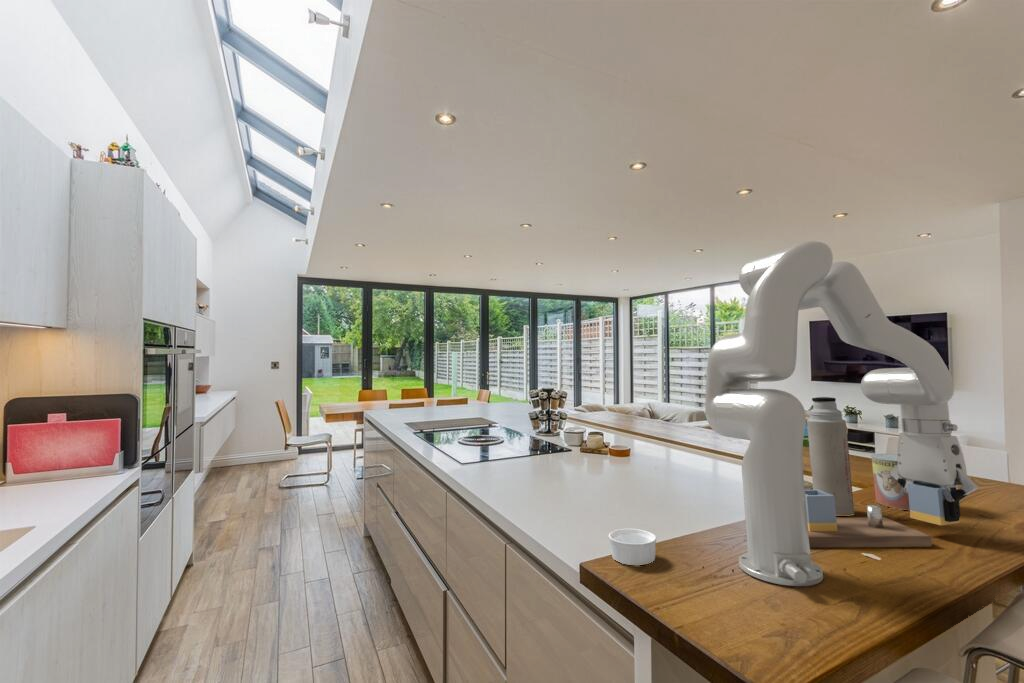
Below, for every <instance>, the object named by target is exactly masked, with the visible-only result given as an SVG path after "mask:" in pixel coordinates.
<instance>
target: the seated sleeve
mask: <svg viewBox="0 0 1024 683" xmlns="http://www.w3.org/2000/svg"><path fill="white" fill-rule="evenodd" d="M805 498H806V510H807V522H808V531H837V521H836V518H837V517H836V510H835V499H834V496H833V495H831V494H828V493H826V492H823V491H821V490H818V489H814V490H813V489H805Z"/></svg>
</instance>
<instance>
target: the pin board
mask: <svg viewBox="0 0 1024 683" xmlns="http://www.w3.org/2000/svg"><path fill="white" fill-rule="evenodd" d="M882 512H883V511H882V506H880V505H875V504H867V505H866V515H867V517H865V516H864V517H861V516H860V517H836V521H837V531H808V533H809V545H810V548H932V547H933V544H932V536H931V535H929V534H926V533H924V532H921V531H919V530H916V529H915V528H913V527H912V528H911V527H909V526H907V525H905V524H902V523H900V522H897V521H895V520H893V519H889V518H887V517H884V516H883V513H882Z"/></svg>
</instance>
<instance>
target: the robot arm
mask: <svg viewBox="0 0 1024 683" xmlns="http://www.w3.org/2000/svg"><path fill="white" fill-rule="evenodd" d="M833 259H834V256H833V251H832V249H831V248H830V247H829V245H828V244H826V243H824V242H822V241H815V240H814V241H813V240H812V241H806V242H801V243H798V244H795V245H792V246H789V247H786V248H782V249H780V250H777V251H774V252H772V253H768V254H765V255H761V256H758V257H756V258H753V259H751V260H749V261H747V262H746V263H745V264H744V265H743V266H742V268H741V269H740V271H739V275H738V282H739V285H740V287H741V289H742V291H743V292H744V293H745V294H746V295H747V296H748V299H747V302H746V305H745V307H746V308H745V316H744V325H743V330H742V332H741V333H735V334H728V335H725V336H722V337H721V338H719V339H718V340H716V341H715V342H714V343H713V345H712V347H711V349H710V350H709V353H708V356H707V364H706V365H707V366H706V381H705V382H706V384H705V401H704V402H705V403H704V404H705V407H704V408H705V416H706V419H707V424H708V425H709V427H710V429H712V430H713V432H715V433H716V434H718V435H720V436H722V437H726V438H731V439H738V440H746V441H749V444H748V446H747V448H746V451H745V453H744V455H743V458H742V461H741V478H742V489H743V490H742V491H743V503H744V504H743V505H744V516H745V517H744V518H745V530H746V532H745V533H746V543H747V552H744V553H742V554H741V555H740V556H739V557H738V565H739V568H741V570H742V571H743V572H745V573H746V574H748V575H749V576H750V577H754V578H755V579H758V580H762V581H763V582H767V583H771V584H775V585H776V584H777V585H781V586H788V587H809V586H814V585H817V584H819V583H821V582H822V581H823V579H824V573H823V569H822V568H821V566H819V565H818V564H817V563H815V562H813V561H812V559H811V547H810V545H809V533H808V522H807V510H806V498H805V490H806V488H805V478H804V464H803V463H804V462H803V449H804V448H803V447H804V446H803V445H804V438H805V437H804V436H805V430H806V424H807V423H806V422H807V420H806V417H807V416H806V410H805V408H804V406H803V405H804V404H802V402H801V401H800V400H799V398H797V397H796V395H794V394H792V393H789V392H787V391H785V390H780V389H774V388H748V386H749V383H762V382H765V383H767V382H768V383H770V382H780V381H784V380H787V379H788V378H790V377H791V376H793V374H794V372H795V370H796V368H797V367H796V366H797V358H798V357H797V355H798V324H799V319H798V318H799V311H803V310H809V309H814V308H821V309H822V311H823V312H824V314H825V315H826V317H827V318H828V320H829V322H830V323H831V325H832V326H833V329H834V331H835V332H836V333H837V335H838V337H839V339H840V340H841V341H842V342H844V343H845V344H849V345H851V346H854V347H857V348H860V349H864V350H866V351H872V352H875V353H878V354H883V355H886V356H888V357H891V358H893V359H895V360H897V361H899V362H901V363H902V364H904V365H905V366H907V367H894V368H893V367H890V368H888V367H887V368H877V369H872V370H870V371H869V372H867V373H866V374H864V376H863V377H862V379H861V382H860V387H861V388H860V390H861V391H862V393H863V395H864V396H865V397H866V398H867V399H868V400H870V401H871V402H873V403H877V404H882V405H897V406H898V405H899V406H900V418H901V419H900V420H901V429H902V430H901V432H900V433H899V436H898V441H897V460H898V464H897V465H896V466H895V467H894V468H893V469H892V470H891V472H890V475H891V476H892V477H894V478H895V479H896V480H897V481H898V483H899V484H900V485H901V486H902V487H903V488H904V491H905V492H906V493H908V485H907V484H910V483H922V482H923V483H929V484H934V485H940V487H941V489H942V491H943V494H944V496H945V498H946V501H943V507H944V517H945V520H946V521H947V522H954V521H960V518H961V507H960V502H961V501H963V499H964V498H965V497H968V496H969V494H971V493H973V492H974V491H977V490H978V489H979V486H978V484H976V482H974V481H973V479H971V478H970V476H969V475H968V472H967V466H966V462H965V457H964V453H963V449H962V447H961V444H960V441H959V440H958V437H957V435H952V433H953V432H956V431H958V429H959V428H958V425H957V424H955V423H952V422H951V420H950V412H949V401H950V400H951V399H952V397H953V396H954V392H955V383H954V380H953V377H952V375H951V373H950V370H949V369H948V366H947V365H946V363H945V361H944V360H943V358H942V357H941V355H940V353H939V352H938V351H937V349H936V348H935V347H934V346H933V345H931V343H929V342H928V341H927V340H925V339H924V338H922V337H921V336H918V335H917V334H915V333H914V332H912V331H911V330H908V329H906V328H905V327H903V326H901V325H898V324H895V323H894V322H893V321H890V320H889V318H888V317H887V315H886V313H885V311H884V310H883V308H882V307H881V305H880V304H879V302H878V300H877V298H876V296H875V294H874V293H873V291H872V290H871V288H870V286H869V284H868V283H867V281H866V279H865V278H864V276H863V273H861V271H860V269H859V268H858V266H856V265H855V264H853V263H851V262H849V261H848V262H847V261H834V262H833ZM958 486H962V487H960V488H958ZM908 501H909V496H908Z"/></svg>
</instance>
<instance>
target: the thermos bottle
mask: <svg viewBox="0 0 1024 683" xmlns="http://www.w3.org/2000/svg"><path fill="white" fill-rule="evenodd" d="M811 401H812V402H813V403H812V409H811V410H809V414H808V416H809V419H807V420H806V422H807V423H806V424H807V425H806V426H807V435H808V436H807V437H808V446H809V448H808V449H809V458H810V470H811V476H812V477H811V478H812V480H811V481H812V490H814V489H818V490H821V491H823V492H826V493H828V494H831V495H833V496H834V499H835V510H836V514H837V515H851V514H854V513H855V504H854V494H853V493H854V492H853V484H852V483H853V481H852V472H851V464H850V463H851V462H850V461H851V460H850V452H849V441H848V430H847V428H848V427H847V421H846V420H845V419H843V413H842V410H840V409H838V406H837V400H836V398H835V397H829V396H828V397H827V396H826V397H825V396H822V397H821V396H819V397H812V398H811ZM854 515H855V514H854Z"/></svg>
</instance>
